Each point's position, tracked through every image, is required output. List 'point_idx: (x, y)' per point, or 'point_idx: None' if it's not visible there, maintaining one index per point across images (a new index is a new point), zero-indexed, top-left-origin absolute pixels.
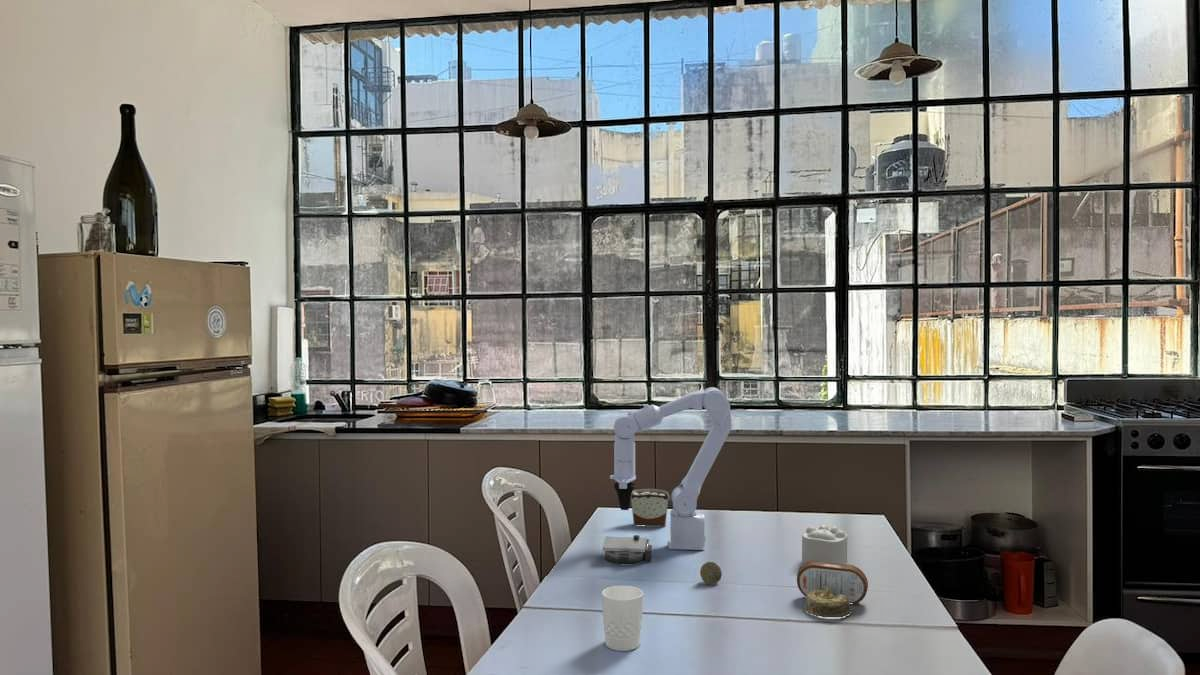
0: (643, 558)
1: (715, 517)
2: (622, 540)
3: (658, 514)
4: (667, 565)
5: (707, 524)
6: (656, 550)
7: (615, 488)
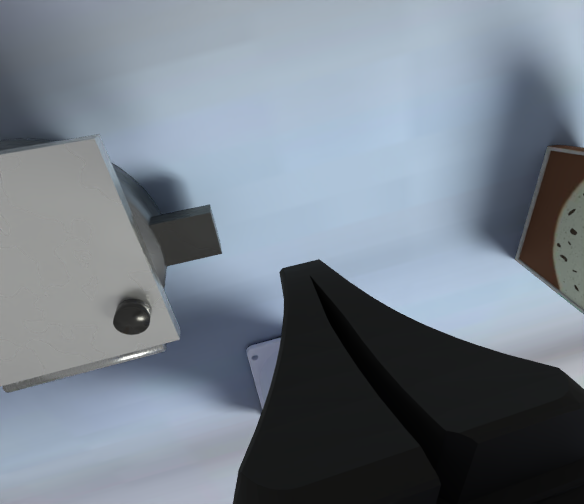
0: None
1: (575, 346)
2: (61, 260)
3: (563, 262)
4: (60, 392)
5: (517, 350)
6: (226, 314)
7: (238, 482)
